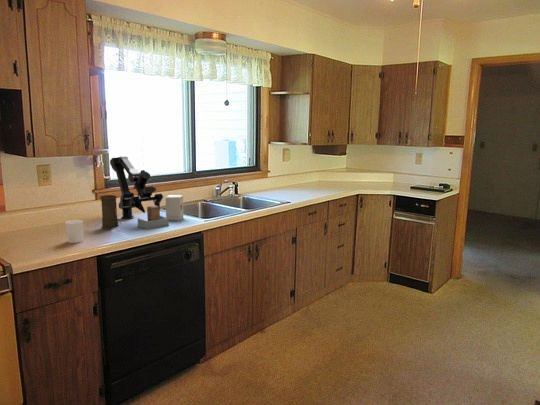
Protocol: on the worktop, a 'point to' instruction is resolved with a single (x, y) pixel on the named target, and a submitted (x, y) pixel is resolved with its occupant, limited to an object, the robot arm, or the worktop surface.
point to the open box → (153, 223)
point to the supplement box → (174, 207)
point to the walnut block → (153, 213)
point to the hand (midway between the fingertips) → (152, 211)
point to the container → (109, 212)
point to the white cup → (74, 231)
